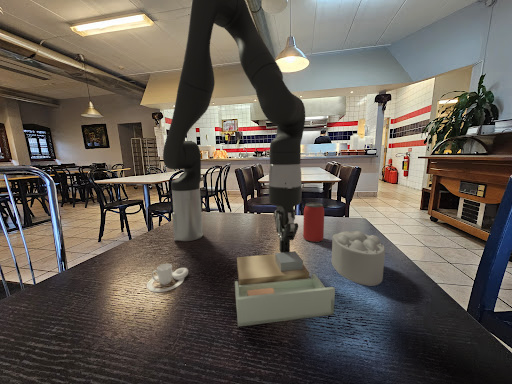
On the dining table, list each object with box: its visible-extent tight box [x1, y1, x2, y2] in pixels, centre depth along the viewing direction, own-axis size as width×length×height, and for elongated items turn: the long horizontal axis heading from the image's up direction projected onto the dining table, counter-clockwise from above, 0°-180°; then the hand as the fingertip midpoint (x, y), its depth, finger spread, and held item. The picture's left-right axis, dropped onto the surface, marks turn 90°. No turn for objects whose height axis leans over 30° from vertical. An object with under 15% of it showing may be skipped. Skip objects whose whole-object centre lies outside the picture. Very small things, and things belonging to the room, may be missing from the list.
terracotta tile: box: [247, 288, 275, 296], centre depth 40 cm, size 5×5×2 cm
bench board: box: [236, 253, 310, 286], centre depth 51 cm, size 15×10×3 cm, turn 98°
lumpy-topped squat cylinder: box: [331, 230, 386, 287], centre depth 52 cm, size 10×13×9 cm
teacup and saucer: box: [146, 263, 189, 293], centre depth 49 cm, size 9×8×4 cm
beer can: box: [302, 202, 325, 243], centre depth 72 cm, size 7×7×12 cm
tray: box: [234, 273, 336, 328], centre depth 41 cm, size 17×8×5 cm, turn 98°
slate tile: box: [274, 251, 304, 272], centre depth 50 cm, size 5×5×2 cm
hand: (284, 253), depth 54 cm, fingers closed
